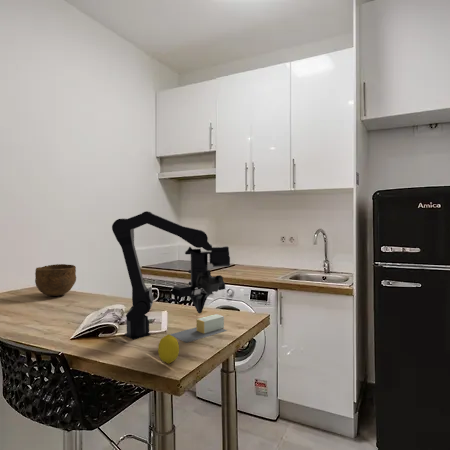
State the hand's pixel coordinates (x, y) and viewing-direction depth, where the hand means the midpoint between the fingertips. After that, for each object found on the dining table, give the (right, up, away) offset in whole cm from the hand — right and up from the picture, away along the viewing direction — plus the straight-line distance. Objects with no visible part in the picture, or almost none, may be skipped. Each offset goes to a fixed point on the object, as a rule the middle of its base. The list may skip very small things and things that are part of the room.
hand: (199, 313), depth 117 cm
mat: (0, -7, 0) cm, 7 cm away
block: (0, -5, 0) cm, 5 cm away
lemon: (-7, -8, -24) cm, 26 cm away
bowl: (-77, -6, +58) cm, 96 cm away
